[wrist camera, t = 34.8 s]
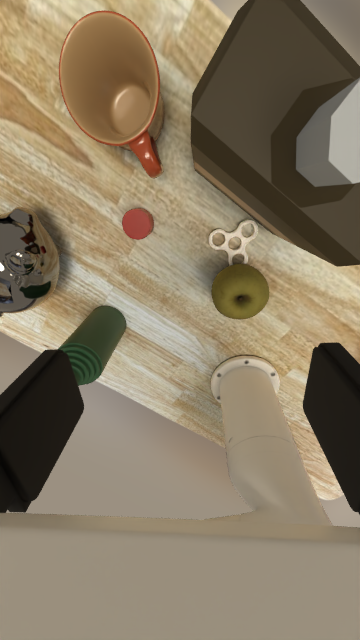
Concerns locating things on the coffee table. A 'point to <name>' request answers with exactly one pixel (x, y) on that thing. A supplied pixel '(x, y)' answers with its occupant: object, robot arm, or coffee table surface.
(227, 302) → the apple
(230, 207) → the coffee table surface
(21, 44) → the coffee table surface
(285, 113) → the bottle
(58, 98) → the coffee table surface
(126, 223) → the cap
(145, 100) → the mug
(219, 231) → the fidget spinner
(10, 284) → the piggy bank
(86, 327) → the sauce bottle
